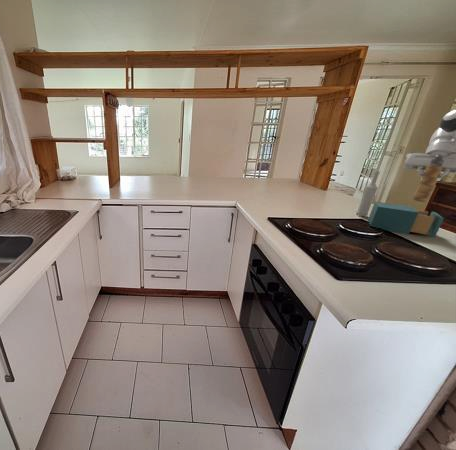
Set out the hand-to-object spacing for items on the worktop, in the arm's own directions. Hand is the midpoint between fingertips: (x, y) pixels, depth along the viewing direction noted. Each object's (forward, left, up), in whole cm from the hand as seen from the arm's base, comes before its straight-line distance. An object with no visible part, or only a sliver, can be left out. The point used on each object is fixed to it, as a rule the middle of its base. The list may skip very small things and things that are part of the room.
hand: (430, 176), depth 107 cm
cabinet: (+8, +4, -26) cm, 27 cm away
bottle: (+17, -13, -26) cm, 33 cm away
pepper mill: (0, -1, -11) cm, 11 cm away
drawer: (-1, +4, -25) cm, 25 cm away
